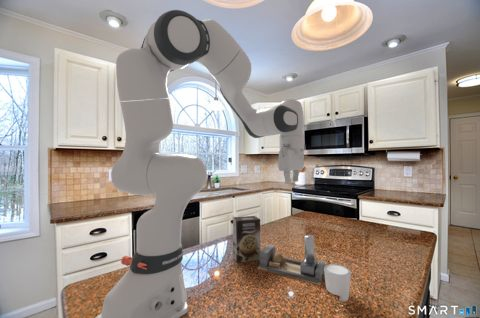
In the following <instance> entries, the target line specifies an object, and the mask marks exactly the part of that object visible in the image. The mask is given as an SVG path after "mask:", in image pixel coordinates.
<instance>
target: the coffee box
mask: <svg viewBox="0 0 480 318" xmlns="http://www.w3.org/2000/svg"><path fill="white" fill-rule="evenodd" d="M260 251H261V218H259V217H257V216H255V215H245V216H233V217H232V257H233V260H234V261H235V263H246V262H252V261H260Z"/></svg>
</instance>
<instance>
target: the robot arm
mask: <svg viewBox="0 0 480 318" xmlns="http://www.w3.org/2000/svg"><path fill="white" fill-rule="evenodd" d="M195 62H196V63H199V64H200V66H203V67H204V68H205V70H206V71H207V72H208V73H209V74H210V75H211V76H212V77H213V79H215V81H216V82H217V84H218V85H219V91H220V93H221V95H222V97H223V99H224V100H225V102H226V103H227V104H228V105H229V107H230V108H231V109H232V111H233V112H234V113H235V114H236V116H237V118H238V119H240V121H241V124H242V125H243V126H244V129H245V131H246V132H247V134H248V135H249V136H250V137H251V138H252V139H253V138H254V139H260V138H263V137H264V138H265V137H268V136H269V137H271V136H276V135H279V152H278V160H277V161H278V165H277V166H278V167H277V168H278V171H280V172H283V177H284V183H285V184H286V185H290V184H291V183H292V182H296V183H297V182H299V176H300V170H303V169H304V163H305V162H304V161H305V151H306V150H307V149H306V148H307V147H306V144H305V134H304V132H303V130H304V129H303V128H304V125H305V124H304V123H305V121H304V119H305V116H304V108H303V105H302V103H301V102H300V101H299V100H298V99H297V100H296V99H285V100H282V101H281V103H279V104H277V105H274V106H270V107H268V108H263V109H255V108H253V107H252V105H251V104H250V102H249V101H248V99H247V98H246V96H245V95H244V93H243V90H244V89H245V87H246V85H247V84H248V82H249V81H250V78H251V76H252V75H251V74H252V63H251V59H249V56H248V55H247V53H246V52H245V51H244V49H243V48H242V47H241V45H240V44H239V43H238V42H237V40H236V39H235V38H234V37H233V36H232V35H231V34H230V33H229V32H228V31H227V30H226V29H225V28H224V27H223V26H222V25H220V23H219V22H218V21H216V20H215V19H210V18H207V19H204V20H199V19H197V18H196V17H195V16H193V15H192V14H190V13H188V12H186V11H185V10H184V11H183V10H180V9H171V10H168V11H166V12H164V13H162V14H161V15H160V16H158V18H157V19H156V21H155V22H153V23H152V24H151V26H150V27H149V29H148V30H147V33H146V35H145V36H144V38H143V41H142V44H141V46H140V48H130V49H127V50H124V51H122V52H121V53H120V54H118V56H117V58H116V61H115V75H116V85H117V92H118V98H119V101H120V102H119V103H120V107H121V112H122V118H123V123H124V130H125V131H124V132H125V142H124V143H125V144H124V148H123V151H122V154H121V155H120V157H119V158H118V160H116V161H115V162H114V164H113V166H112V168H111V174H110V178H111V182H112V184H113V186H114V188H115V189H117V190H118V191H120V192H122V193H127V194H130V195H133V196H134V195H135V196H155V202H154V205H153V207H152V208H151V209H148V210H147V211H145V212H144V213H143V214H141V216H140V217H139V218H138V220H137V223H136V249H135V250H134V254H133V256H132V257H131V256H128V255H123V256H122V257H121V259H120V264H121V265H122V266H123V265H124V266H127V267H128V266H129V268H128V270H127V271H126V272H125V273H124V275H123V276H122V277H121V278H120V279H119V280H118V282H117V283H116V284H115V285H114V286H113V287H112V288H111V289H110V290H109V291H108V292H107V294H106V295H105V298H104V300H103V304H102V308H101V313H100V314H98V315H97V316H95V318H181V317H182V316H184V315H185V314H187V313H188V310H189V309H188V307H189V306H188V304H187V301H188V294H187V289H186V287H185V279H184V272H183V265H182V261H183V259H184V256H183V255H184V250H183V244H182V225H183V224H182V223H183V217H184V212H185V209H186V208H187V206H188V204H189V203H190V201H191V200H192V199H193V197H195V196H196V195H197V194H198V193H200V192H201V191H202V190H203V188H204V187H205V184H206V181H207V179H208V172H207V171H208V170H207V167H206V165H205V163H204V162H203V160H202V159H201V158H200V157H198V156H194V155H190V154H184V153H160V144H161V142H162V141H163V140H165V139H166V138H168V137H169V136H170V135H171V133H172V131H173V129H174V121H173V114H172V109H171V102H170V96H169V91H168V87H167V84H168V75H169V73H170V72H173V71H175V70H181V69H184V68H185V67H188V65H191V64H193V63H195ZM291 172H292V173H293V174H292V175H293V176H292V178H291Z"/></svg>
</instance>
